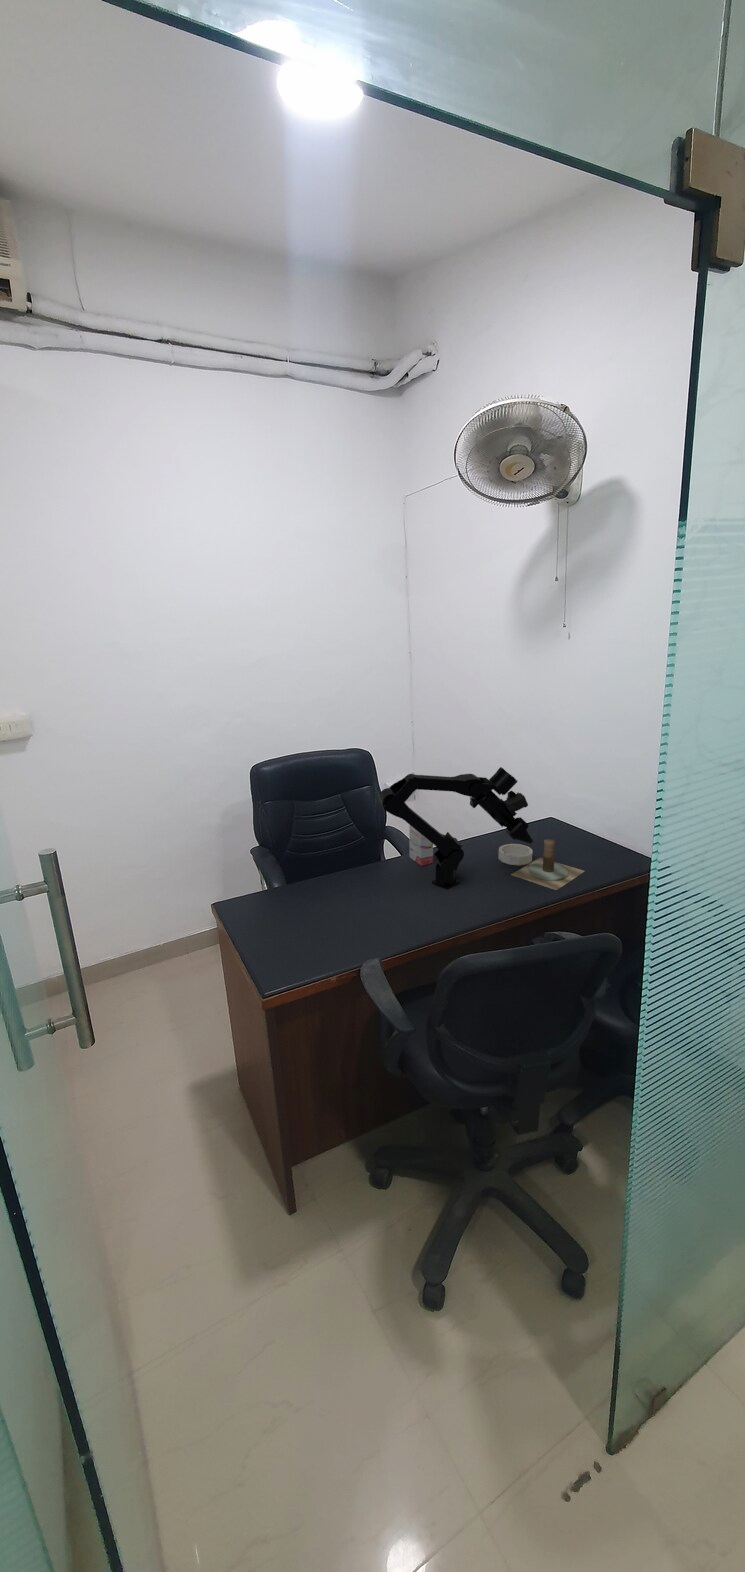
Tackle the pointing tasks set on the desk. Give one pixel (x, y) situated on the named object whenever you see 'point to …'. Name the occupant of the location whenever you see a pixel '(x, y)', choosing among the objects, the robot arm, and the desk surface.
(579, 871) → the mat
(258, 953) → the desk surface
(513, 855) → the bowl
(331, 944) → the desk surface
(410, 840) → the ink cartridge box
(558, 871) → the lid
